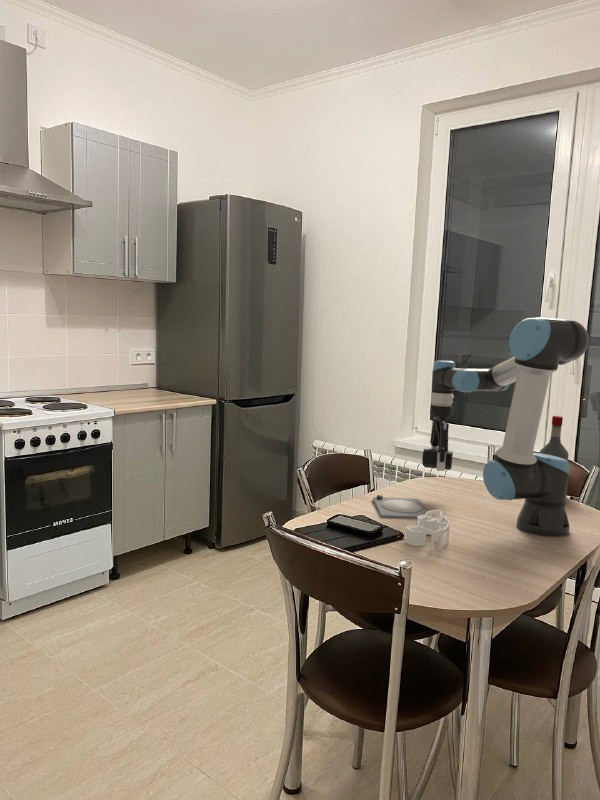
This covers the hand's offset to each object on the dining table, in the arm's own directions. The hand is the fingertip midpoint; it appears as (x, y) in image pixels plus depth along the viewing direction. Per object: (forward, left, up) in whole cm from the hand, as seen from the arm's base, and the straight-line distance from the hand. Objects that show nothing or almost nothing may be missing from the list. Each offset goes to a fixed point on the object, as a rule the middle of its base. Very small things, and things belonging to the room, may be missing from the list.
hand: (437, 467), depth 221 cm
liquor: (+10, -46, -12) cm, 48 cm away
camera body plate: (-16, +15, -12) cm, 25 cm away
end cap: (0, 0, -1) cm, 1 cm away
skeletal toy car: (-45, +12, -12) cm, 48 cm away
